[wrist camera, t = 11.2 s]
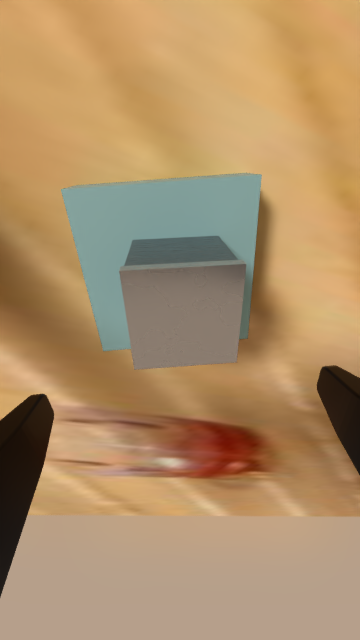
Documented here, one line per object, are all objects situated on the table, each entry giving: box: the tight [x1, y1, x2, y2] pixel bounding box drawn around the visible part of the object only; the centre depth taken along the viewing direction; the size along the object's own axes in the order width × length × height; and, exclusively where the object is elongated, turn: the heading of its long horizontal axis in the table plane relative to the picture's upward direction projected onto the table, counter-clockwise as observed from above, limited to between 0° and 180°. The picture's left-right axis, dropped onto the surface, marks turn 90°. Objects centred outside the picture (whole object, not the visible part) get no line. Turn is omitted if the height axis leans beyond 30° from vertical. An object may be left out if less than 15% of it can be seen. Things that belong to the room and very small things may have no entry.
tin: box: [119, 236, 246, 370], centre depth 15 cm, size 5×5×6 cm
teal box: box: [61, 173, 261, 351], centre depth 19 cm, size 11×11×4 cm
